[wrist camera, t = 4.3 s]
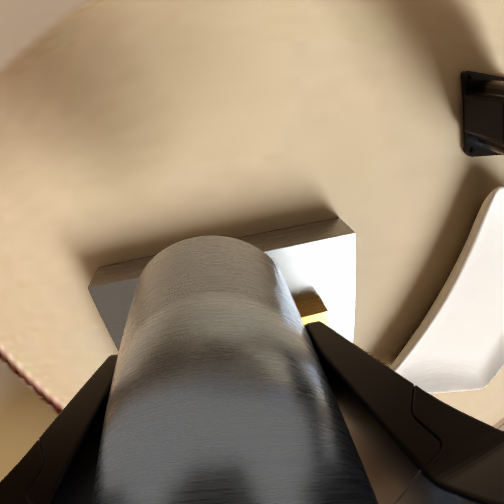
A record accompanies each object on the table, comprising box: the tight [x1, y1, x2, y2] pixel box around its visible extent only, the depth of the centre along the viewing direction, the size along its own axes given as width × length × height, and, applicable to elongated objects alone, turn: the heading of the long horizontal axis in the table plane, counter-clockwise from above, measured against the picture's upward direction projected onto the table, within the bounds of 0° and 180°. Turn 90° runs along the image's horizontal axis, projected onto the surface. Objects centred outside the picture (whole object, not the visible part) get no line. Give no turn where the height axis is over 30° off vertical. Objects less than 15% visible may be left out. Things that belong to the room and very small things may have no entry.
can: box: [92, 235, 379, 504], centre depth 6 cm, size 5×5×8 cm
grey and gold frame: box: [88, 218, 356, 350], centre depth 23 cm, size 16×19×4 cm
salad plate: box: [390, 186, 504, 394], centre depth 26 cm, size 21×21×3 cm
